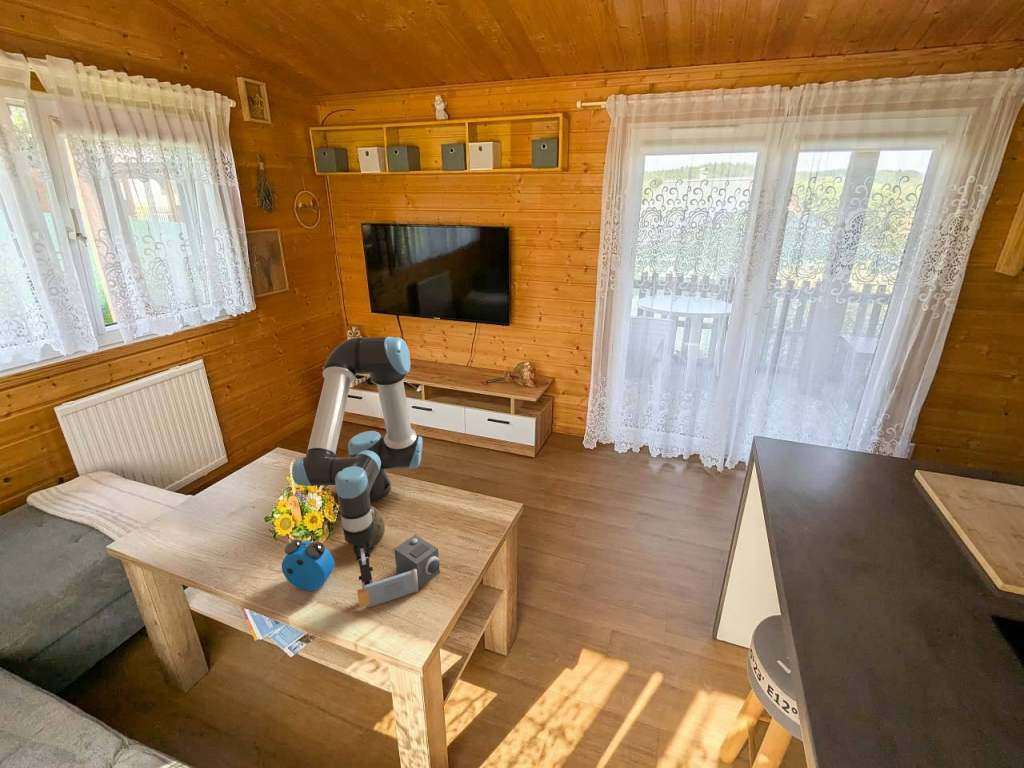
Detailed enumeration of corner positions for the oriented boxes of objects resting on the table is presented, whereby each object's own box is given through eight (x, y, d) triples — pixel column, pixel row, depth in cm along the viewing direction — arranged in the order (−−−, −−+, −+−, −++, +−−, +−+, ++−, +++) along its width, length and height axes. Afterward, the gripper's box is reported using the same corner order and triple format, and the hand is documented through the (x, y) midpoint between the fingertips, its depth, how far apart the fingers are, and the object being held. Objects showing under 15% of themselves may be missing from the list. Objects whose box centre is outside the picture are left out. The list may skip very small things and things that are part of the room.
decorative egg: (368, 561, 147) (362, 521, 142) (344, 548, 153) (338, 509, 147) (393, 541, 156) (389, 502, 150) (370, 529, 161) (365, 492, 156)
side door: (360, 611, 129) (357, 590, 126) (359, 607, 130) (356, 586, 128) (419, 591, 136) (417, 571, 133) (418, 588, 137) (416, 567, 134)
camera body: (397, 572, 143) (393, 546, 139) (417, 558, 148) (415, 532, 145) (422, 591, 136) (420, 564, 132) (443, 574, 142) (441, 548, 138)
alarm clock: (338, 579, 140) (330, 537, 135) (327, 595, 135) (318, 552, 129) (297, 573, 143) (288, 532, 137) (285, 589, 137) (275, 547, 131)
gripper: (375, 535, 120) (385, 606, 129) (370, 506, 131) (379, 573, 140) (344, 543, 117) (356, 614, 126) (341, 513, 128) (353, 580, 137)
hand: (368, 593), depth 133 cm, fingers closed
